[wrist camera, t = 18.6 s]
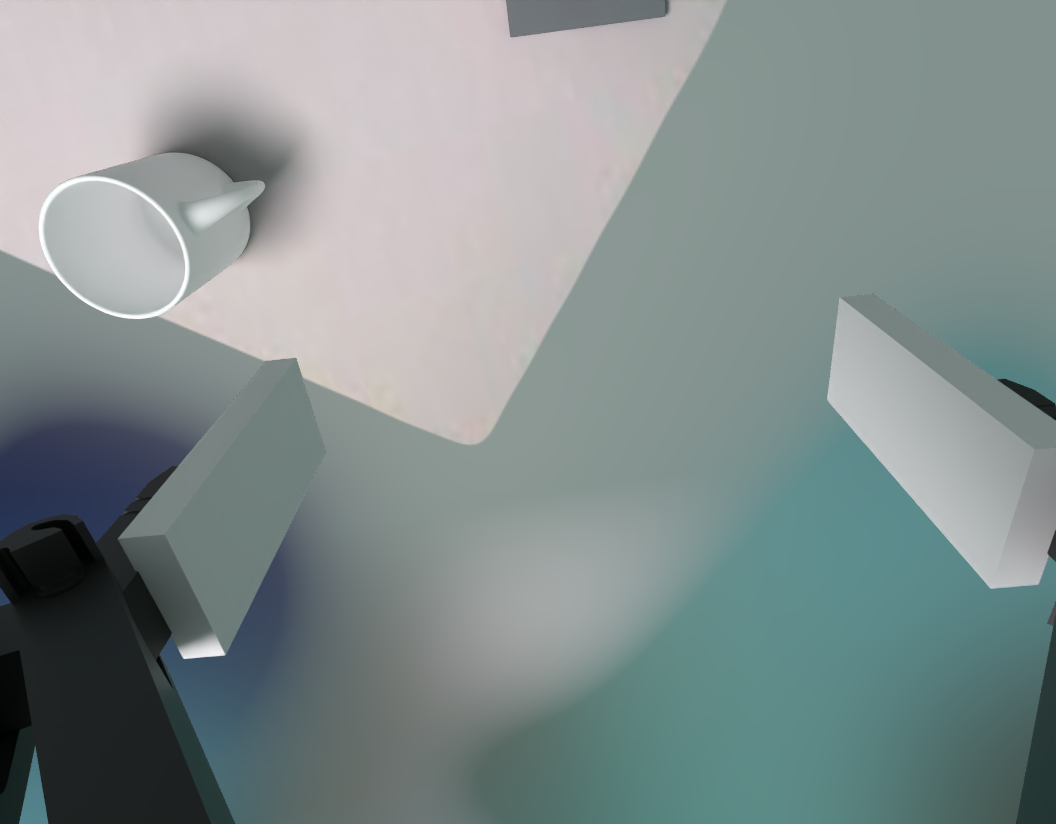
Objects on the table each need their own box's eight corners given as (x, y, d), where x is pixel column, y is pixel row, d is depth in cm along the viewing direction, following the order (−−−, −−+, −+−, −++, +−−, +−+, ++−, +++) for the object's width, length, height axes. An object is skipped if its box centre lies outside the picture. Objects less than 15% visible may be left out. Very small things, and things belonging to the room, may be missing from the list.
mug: (315, 231, 48) (266, 274, 39) (179, 284, 50) (101, 337, 41) (254, 113, 45) (182, 129, 35) (109, 175, 46) (4, 207, 37)
